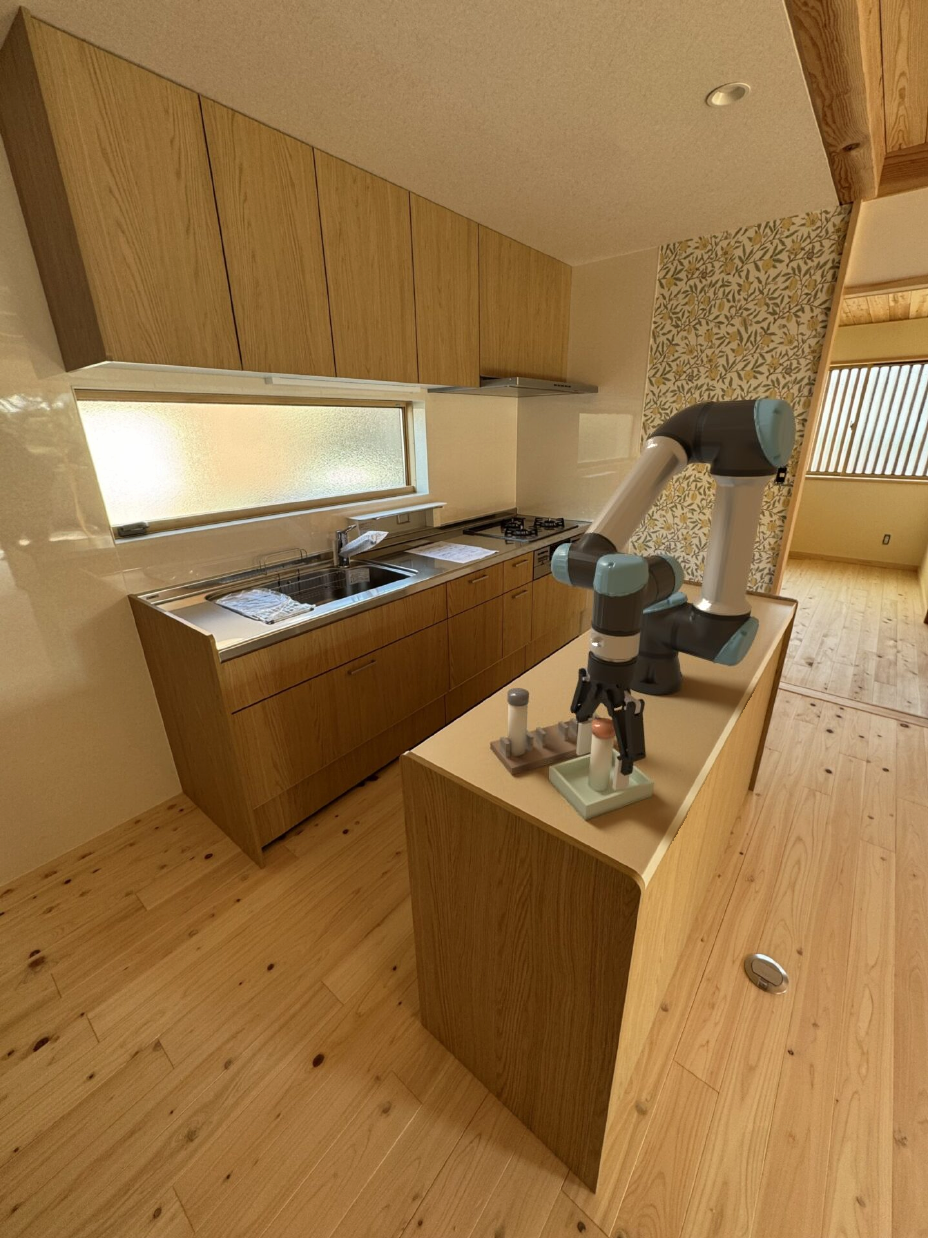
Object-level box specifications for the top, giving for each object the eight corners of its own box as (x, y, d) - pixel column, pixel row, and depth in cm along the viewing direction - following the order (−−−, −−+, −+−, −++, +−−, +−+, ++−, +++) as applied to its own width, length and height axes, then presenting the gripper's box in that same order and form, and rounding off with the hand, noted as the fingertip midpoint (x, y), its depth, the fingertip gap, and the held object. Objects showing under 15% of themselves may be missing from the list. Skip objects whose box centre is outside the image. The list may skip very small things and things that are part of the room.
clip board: (585, 722, 108) (586, 704, 107) (612, 744, 100) (614, 725, 99) (490, 748, 100) (490, 729, 98) (511, 775, 92) (512, 754, 90)
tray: (610, 760, 96) (612, 747, 95) (652, 796, 86) (654, 782, 85) (548, 780, 91) (549, 766, 90) (585, 820, 81) (586, 805, 80)
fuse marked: (600, 775, 91) (606, 715, 86) (614, 788, 87) (621, 727, 83) (582, 781, 89) (587, 721, 85) (596, 795, 86) (602, 733, 81)
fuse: (520, 742, 99) (522, 686, 95) (530, 753, 96) (533, 695, 91) (502, 747, 98) (503, 690, 93) (512, 758, 94) (513, 700, 90)
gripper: (554, 632, 87) (548, 740, 95) (643, 688, 68) (626, 817, 76) (589, 625, 90) (581, 731, 98) (684, 677, 71) (664, 803, 79)
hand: (601, 769), depth 87 cm, fingers open, 9 cm apart
